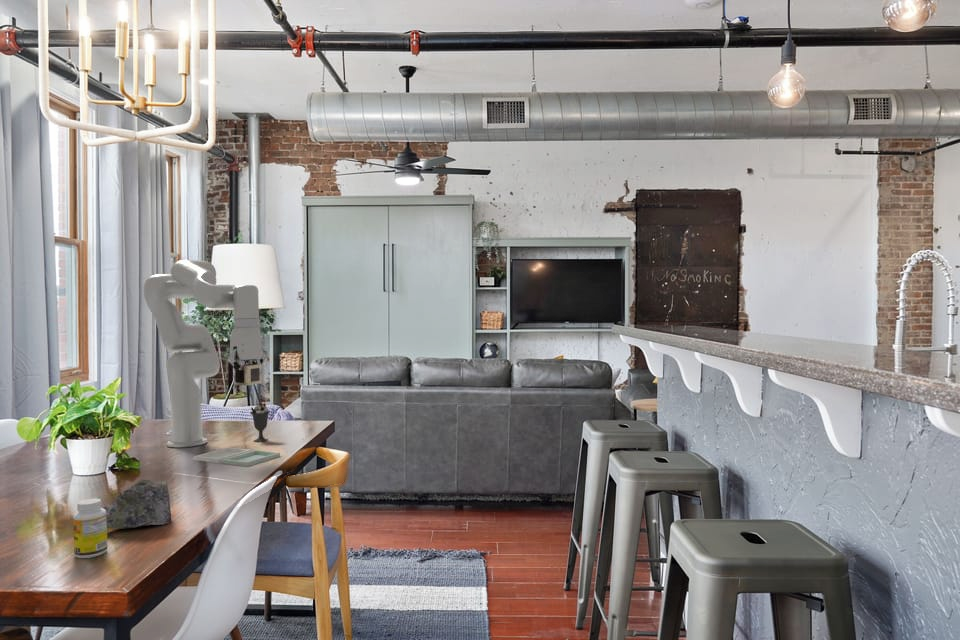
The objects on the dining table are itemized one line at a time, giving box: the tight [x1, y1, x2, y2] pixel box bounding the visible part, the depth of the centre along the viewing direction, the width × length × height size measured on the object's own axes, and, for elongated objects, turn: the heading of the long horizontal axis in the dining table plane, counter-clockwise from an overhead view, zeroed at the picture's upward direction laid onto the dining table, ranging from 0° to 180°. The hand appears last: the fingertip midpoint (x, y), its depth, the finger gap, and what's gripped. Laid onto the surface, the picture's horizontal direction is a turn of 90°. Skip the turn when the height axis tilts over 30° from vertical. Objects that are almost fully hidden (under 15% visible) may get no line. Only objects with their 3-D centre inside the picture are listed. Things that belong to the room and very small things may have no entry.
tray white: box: [193, 446, 253, 464], centre depth 211 cm, size 10×14×2 cm
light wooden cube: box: [232, 363, 263, 386], centre depth 213 cm, size 6×6×6 cm
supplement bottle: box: [72, 498, 108, 559], centre depth 130 cm, size 6×6×10 cm
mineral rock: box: [102, 478, 172, 530], centre depth 147 cm, size 13×11×10 cm
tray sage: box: [221, 449, 281, 467], centre depth 206 cm, size 10×14×2 cm
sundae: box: [250, 397, 271, 443], centre depth 237 cm, size 7×7×15 cm
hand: (247, 380), depth 214 cm, fingers closed on light wooden cube, 5 cm apart
